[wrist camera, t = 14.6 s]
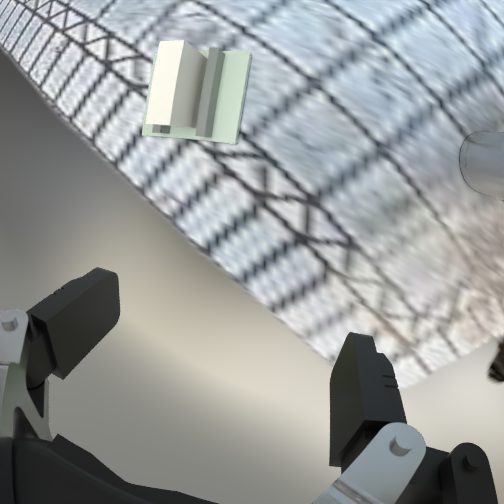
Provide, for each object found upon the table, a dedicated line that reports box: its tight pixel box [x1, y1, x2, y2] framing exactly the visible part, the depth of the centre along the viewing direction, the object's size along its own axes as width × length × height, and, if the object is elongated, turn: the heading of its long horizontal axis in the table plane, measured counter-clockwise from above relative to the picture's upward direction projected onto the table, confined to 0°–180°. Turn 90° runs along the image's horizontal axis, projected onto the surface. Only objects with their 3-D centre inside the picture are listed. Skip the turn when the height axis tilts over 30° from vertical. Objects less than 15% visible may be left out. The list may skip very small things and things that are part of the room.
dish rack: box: [142, 48, 252, 144], centre depth 35 cm, size 14×13×4 cm
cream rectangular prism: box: [146, 40, 208, 128], centre depth 31 cm, size 3×10×9 cm, turn 171°
